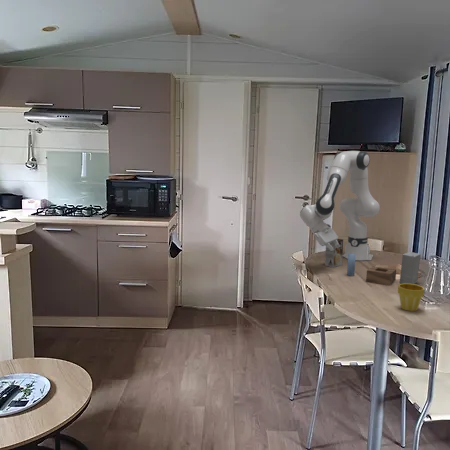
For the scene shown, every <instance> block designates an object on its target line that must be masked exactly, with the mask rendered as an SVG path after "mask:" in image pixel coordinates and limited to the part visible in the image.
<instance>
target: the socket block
mask: <svg viewBox="0 0 450 450" xmlns="http://www.w3.org/2000/svg"><path fill="white" fill-rule="evenodd" d="M396 277H397V269H395V268H388V267H381V266H372V267H370V268H368V269H367V270H366V278H365V279H366V280H365V282H366V283H373V284H376V285H377V284H378V285H385V286H388V287H389V286H391V285H392V284H394V283H395V281H396V280H397V278H396Z"/></svg>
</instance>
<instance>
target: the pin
mask: <svg viewBox="0 0 450 450" xmlns="http://www.w3.org/2000/svg"><path fill="white" fill-rule="evenodd" d="M355 256H356V254H353V253H349V254H348V259H347V267H346V271H347V272H346V275H347V276H348V277H354V276H355V273H356V271H355V269H356V260H355Z"/></svg>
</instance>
